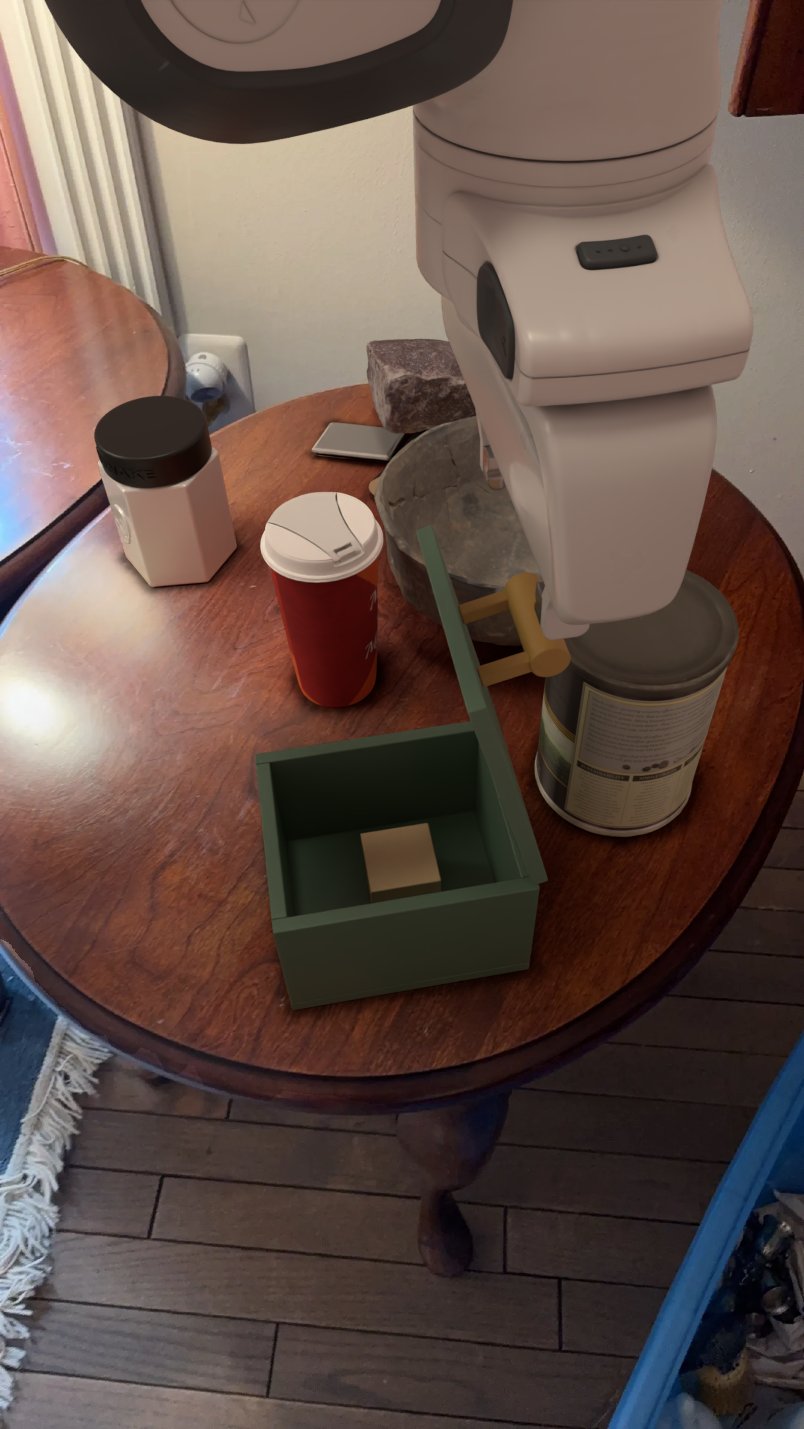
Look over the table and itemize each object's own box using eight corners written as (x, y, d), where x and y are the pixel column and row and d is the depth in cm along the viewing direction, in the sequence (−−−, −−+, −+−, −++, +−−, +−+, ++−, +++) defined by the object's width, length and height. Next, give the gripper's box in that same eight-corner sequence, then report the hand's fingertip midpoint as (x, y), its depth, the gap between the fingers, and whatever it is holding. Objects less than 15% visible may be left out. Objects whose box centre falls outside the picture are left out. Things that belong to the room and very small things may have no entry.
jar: (111, 545, 85) (71, 417, 76) (199, 506, 88) (171, 379, 79) (161, 605, 80) (125, 476, 71) (253, 562, 83) (229, 433, 74)
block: (441, 916, 60) (441, 880, 57) (374, 928, 60) (370, 892, 57) (428, 859, 63) (428, 822, 60) (364, 870, 63) (360, 833, 60)
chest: (292, 1011, 58) (272, 933, 51) (273, 840, 65) (254, 753, 59) (529, 969, 59) (540, 888, 52) (484, 806, 67) (488, 717, 60)
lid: (467, 713, 41) (584, 675, 41) (415, 529, 49) (513, 496, 48) (533, 886, 52) (625, 858, 52) (482, 714, 60) (562, 688, 59)
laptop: (388, 446, 88) (390, 467, 90) (407, 415, 92) (408, 436, 94) (309, 438, 90) (312, 458, 92) (331, 408, 94) (333, 428, 95)
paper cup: (412, 687, 73) (406, 532, 63) (319, 736, 71) (297, 583, 60) (352, 625, 78) (338, 470, 67) (263, 668, 75) (234, 514, 64)
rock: (527, 377, 97) (535, 256, 83) (505, 510, 92) (511, 405, 78) (381, 363, 99) (366, 241, 85) (353, 493, 94) (332, 386, 80)
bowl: (539, 480, 88) (548, 374, 81) (711, 617, 77) (741, 510, 69) (330, 573, 81) (318, 468, 74) (486, 741, 70) (491, 636, 62)
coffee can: (501, 775, 68) (511, 621, 57) (599, 691, 73) (626, 534, 62) (627, 868, 63) (664, 719, 52) (724, 772, 68) (776, 616, 57)
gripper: (399, 95, 39) (410, 416, 49) (540, 390, 25) (513, 744, 36) (563, 78, 39) (539, 400, 50) (784, 359, 26) (688, 716, 37)
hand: (529, 547), depth 43 cm, fingers open, 8 cm apart
